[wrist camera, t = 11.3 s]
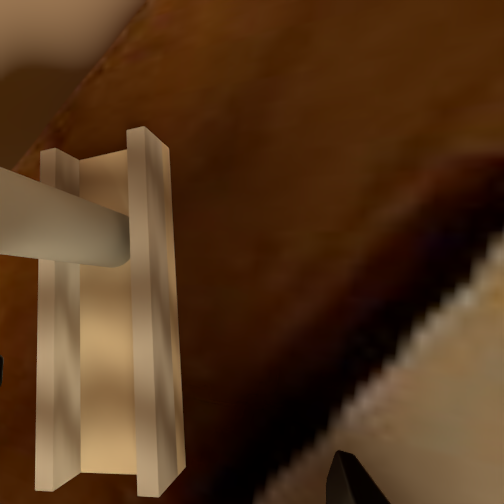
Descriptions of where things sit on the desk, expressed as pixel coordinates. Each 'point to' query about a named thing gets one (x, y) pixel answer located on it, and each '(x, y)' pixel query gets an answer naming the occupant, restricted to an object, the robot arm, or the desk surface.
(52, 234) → the beige piece
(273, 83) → the desk surface
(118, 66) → the desk surface
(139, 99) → the desk surface
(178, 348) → the sliding track
